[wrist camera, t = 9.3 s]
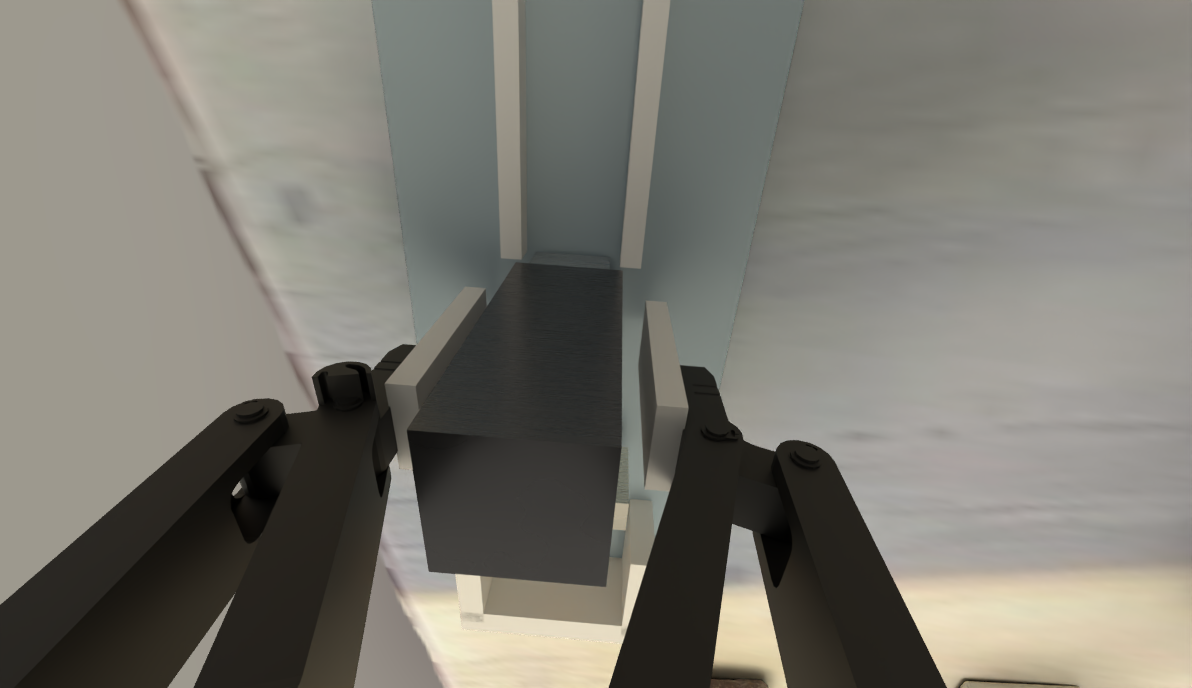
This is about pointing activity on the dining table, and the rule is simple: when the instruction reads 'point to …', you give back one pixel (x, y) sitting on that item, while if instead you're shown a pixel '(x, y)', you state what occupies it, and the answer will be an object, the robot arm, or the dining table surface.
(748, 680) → the rock
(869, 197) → the dining table surface
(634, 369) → the pitch
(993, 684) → the skincare box
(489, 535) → the dark textured box
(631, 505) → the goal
